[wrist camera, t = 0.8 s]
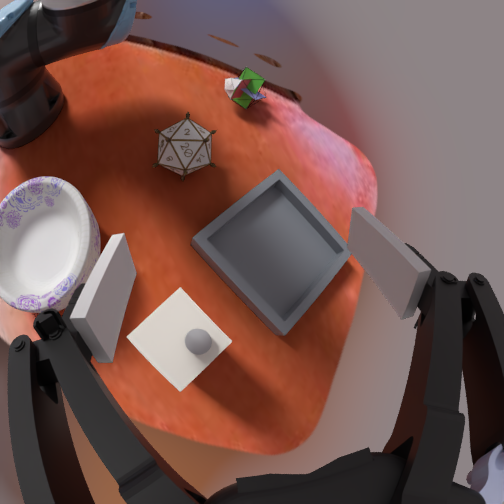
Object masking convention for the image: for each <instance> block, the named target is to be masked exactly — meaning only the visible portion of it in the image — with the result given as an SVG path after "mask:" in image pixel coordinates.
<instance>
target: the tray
mask: <svg viewBox="0 0 504 504" xmlns="http://www.w3.org/2000/svg"><path fill="white" fill-rule="evenodd" d="M347 245H348V244H347V243H346V242H345V241H344V239H343V238H342V237H341V236H340V235H339V234H338V233H337V231H336V230H335V229H334V228H333V227H332V226H331V225H330V223H329V222H328V221H327V220H326V219H325V218H324V217H323V216H322V214H321V213H320V212H319V211H318V210H317V209H316V208H315V207H314V206H313V204H312V203H311V202H310V201H309V200H308V199H307V198H306V197H305V196H304V195H303V194H302V193H301V192H300V191H299V189H298V188H297V187H296V186H295V185H294V184H293V183H292V182H291V181H290V180H289V179H288V178H287V177H286V176H285V175H284V174H283V173H282V172H281V171H280V170H279V169H278V170H277V171H275V172H274V173H273V174H272V175H270V176H269V177H268V178H266V179H265V180H264V181H262V182H261V183H260V184H258V185H257V186H256V187H255V188H253V189H252V190H251V191H249V192H248V193H247V194H246V195H244V196H243V197H242V198H241V199H239V200H238V201H237V202H236V203H234V204H233V205H232V206H231V207H229V208H228V209H227V210H226V211H224V212H223V213H222V214H221V215H219V216H218V217H217V218H216V219H214V220H213V221H212V222H211V223H210V224H208V225H207V226H206V227H205V228H204V229H202V230H201V231H200V232H199V233H197V234H196V235H195V236H194V237H193V238H192V241H191V246H192V247H193V248H194V249H195V250H196V252H197V253H198V254H199V255H200V256H201V257H202V258H203V259H204V260H205V261H206V263H207V264H208V265H209V266H210V267H211V268H212V269H213V270H214V271H215V272H216V273H217V274H218V275H219V277H220V278H221V279H222V280H223V281H224V282H225V283H226V284H227V285H228V286H229V287H230V288H231V289H232V290H233V291H234V293H235V294H236V295H237V296H238V297H239V298H240V299H241V300H242V301H243V302H244V303H245V304H246V305H247V306H248V307H249V308H250V309H251V310H252V311H253V312H254V313H255V314H256V315H257V316H258V317H259V318H260V320H261V321H262V322H263V323H264V324H265V325H266V326H267V327H268V328H269V329H270V330H271V331H272V332H273V333H274V334H275V335H284V336H285V335H286V334H287V333H288V332H289V330H290V329H291V328H292V327H293V326H294V325H295V324H296V322H297V321H298V320H299V319H300V318H301V317H302V315H303V314H304V313H305V312H306V311H307V309H308V308H309V307H310V306H311V305H312V303H313V302H314V301H315V300H316V299H317V297H318V296H319V295H320V294H321V292H322V291H323V290H324V289H325V288H326V286H327V285H328V284H329V283H330V281H331V280H332V279H333V277H334V276H335V275H336V274H337V272H338V271H339V270H340V269H341V267H342V266H343V265H344V263H345V262H346V261H347V259H348V258H349V257H350V255H351V254H352V253H351V252H350V251H349V249H348V248H347Z"/></svg>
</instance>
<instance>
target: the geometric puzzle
mask: <svg viewBox="0 0 504 504" xmlns="http://www.w3.org/2000/svg"><path fill="white" fill-rule="evenodd" d="M242 72H243V73H242V75H241V76H240V75H239V76H240V78H238V77H239V76H238V77H237V78H228V79H225V91H226V93H227V94H228V97H229V98H230V100H232V101H233V100H234V101H235V102H237V103H238V104H240V106H242V107H243V108H245V109H247V108H248V107H249V106H250V105H251V104H252V103H253V102H254V101H253V102H252V103H251V104H250V105H249V103H250V102H251V100H252V99H253V98H254V99H255V100H258V99H262V98H266V97H265V96H266V95H265V96H263V95H262V94H261V93H259V92H260V91H259V92H258V90H259V88H260V87H261V85H262V84H263V83H264V81H265V80H266V79H264V78H262V77H261V76H259V75H258V74H256V73H255V72H253V71H252V70H250V69H249V68H247V67H245V69H244V70H243V71H242ZM236 73H237V72H236ZM262 86H263V85H262ZM265 87H266V84H265ZM261 88H262V87H261ZM263 89H264V88H263ZM260 90H261V89H260ZM260 101H261V100H260ZM258 102H259V101H258ZM248 105H249V106H248ZM253 105H254V104H253ZM247 106H248V107H247ZM251 106H252V105H251Z"/></svg>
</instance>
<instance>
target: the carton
mask: <svg viewBox="0 0 504 504" xmlns="http://www.w3.org/2000/svg"><path fill="white" fill-rule="evenodd" d="M127 338H128V339H129V340H130V342H131V343H132V344H133V345H134V346H135V347H136V348H137V349H138V350H139V351H140V352H141V354H142V355H143V356H144V357H145V358H146V359H147V360H148V361H149V362H150V363H151V364H152V365H153V366H154V367H155V368H156V369H157V370H158V371H159V372H160V373H161V374H162V375H163V376H164V377H165V378H166V379H167V380H168V381H169V382H170V383H171V384H172V385H174V386H175V387H176V388H177V389H178V390H179V391H180V392H181V391H182V390H183V389H184V388H185V387H186V386H187V385H188V384H189V383H190V382H191V381H192V380H193V379H195V378H196V377H197V376H198V375H199V374H200V373H201V372H202V371H203V370H204V369H205V368H206V367H207V366H208V365H209V364H210V363H211V362H212V361H213V360H214V359H215V358H216V357H217V356H218V355H219V354H220V353H221V352H222V351H223V350H224V349H225V348H226V347H227V346H228V345H229V344H230V343H231V342H232V340H231V339H229V338H228V337H227V336H226V335H225V334H224V333H223V331H222V330H221V329H220V328H219V327H218V326H217V325H216V324H215V323H214V322H213V321H212V320H211V319H210V318H209V317H208V316H207V315H206V314H205V313H204V312H203V311H202V310H201V309H200V308H199V307H198V306H197V305H196V303H195V302H194V301H193V300H192V299H191V298H190V297H189V296H188V295H187V294H186V293H185V292H184V291H183V289H182V288H181V287H180V288H179V289H178V290H177V291H176V292H174V293H173V294H172V295H171V296H170V297H169V298H168V299H167V300H166V301H165V302H164V303H162V304H161V305H160V306H159V307H158V308H157V309H156V310H155V311H154V312H153V313H152V314H151V315H150V316H148V317H147V318H146V319H145V320H144V321H143V322H142V323H141V324H140V325H139V326H138V327H137V328H136V329H135V330H133V331H132V332H131V333H130V334H129V335H128V336H127Z"/></svg>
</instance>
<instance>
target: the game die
mask: <svg viewBox="0 0 504 504" xmlns="http://www.w3.org/2000/svg"><path fill="white" fill-rule="evenodd" d="M189 115H190V114H189V112H187V113H186V118H185V119H183V120H181V121H180V122H178V123H176V124H174V125H172V126H170V127H168V128H166V129H164V130H163V131H161V132H160V131H159V130H158V129H154V130H155V133H159V142H158V161H157V163H155V164H153V166H152V167H155V168H156V166H158V165H161V166H163V167H165V168H167V169H169V170H171V171H173V172H175V173H177V174H179V175H181V176H182V177H181V180H182V182H183V180H184V178H185V177H184V176H186V175H187V174H189V173H192V172H194V171H196V170H198V169H201V168H203V167H205V166H208V165H211V166H212V167H216V166H215V164H214V163H211V141H212V134H214V133H215V132H216V131H217V130H213V131H212V132H209V131H208V130H206V129H205V128H203V127H201V126H200V125H198V124H197V123H195V122H194V121H192V120H191V119H189Z"/></svg>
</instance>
